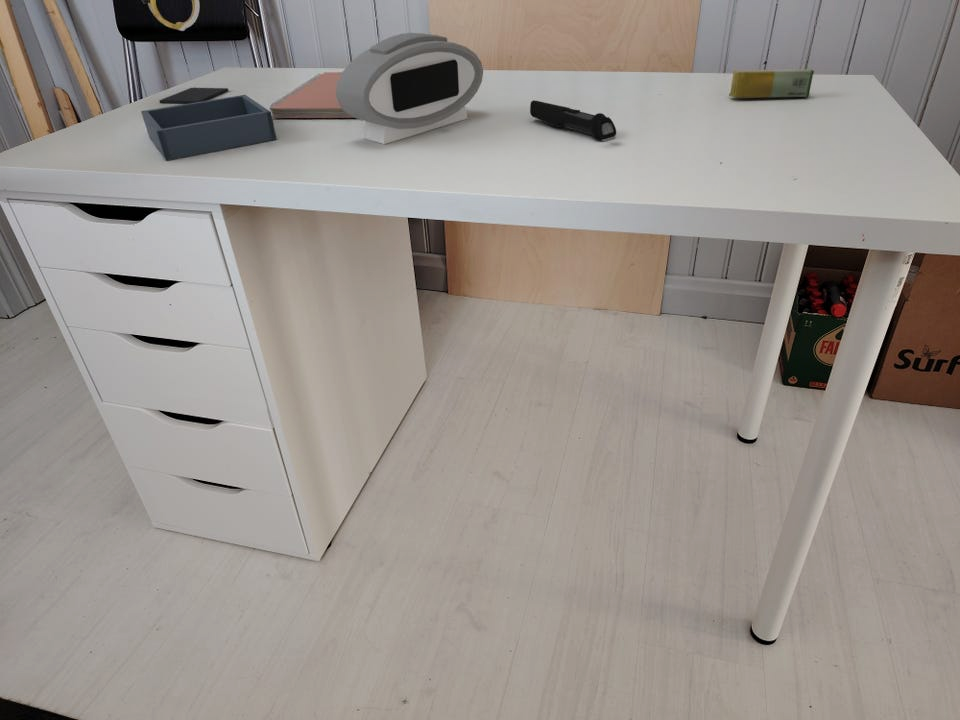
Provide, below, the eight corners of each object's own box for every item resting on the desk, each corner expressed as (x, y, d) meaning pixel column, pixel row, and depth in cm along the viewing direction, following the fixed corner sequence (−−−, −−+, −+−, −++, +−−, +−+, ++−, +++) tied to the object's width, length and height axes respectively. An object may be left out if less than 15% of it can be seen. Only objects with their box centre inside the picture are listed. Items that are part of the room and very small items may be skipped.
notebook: (320, 81, 127) (318, 70, 126) (404, 81, 125) (403, 69, 124) (265, 119, 105) (262, 106, 104) (365, 119, 103) (364, 106, 102)
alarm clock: (369, 151, 89) (356, 50, 82) (343, 143, 93) (328, 45, 85) (485, 115, 102) (482, 25, 95) (458, 109, 106) (453, 22, 99)
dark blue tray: (166, 160, 89) (156, 131, 87) (149, 138, 98) (140, 111, 96) (276, 139, 95) (270, 111, 93) (251, 120, 105) (245, 94, 103)
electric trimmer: (542, 118, 100) (542, 96, 99) (618, 137, 90) (619, 113, 88) (524, 123, 99) (523, 101, 97) (599, 142, 88) (600, 118, 87)
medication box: (802, 95, 105) (808, 68, 103) (809, 97, 103) (815, 70, 101) (728, 96, 106) (732, 69, 104) (733, 98, 103) (738, 70, 101)
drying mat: (198, 104, 116) (197, 101, 115) (159, 103, 117) (159, 100, 117) (228, 90, 124) (227, 88, 123) (191, 90, 125) (191, 87, 125)
